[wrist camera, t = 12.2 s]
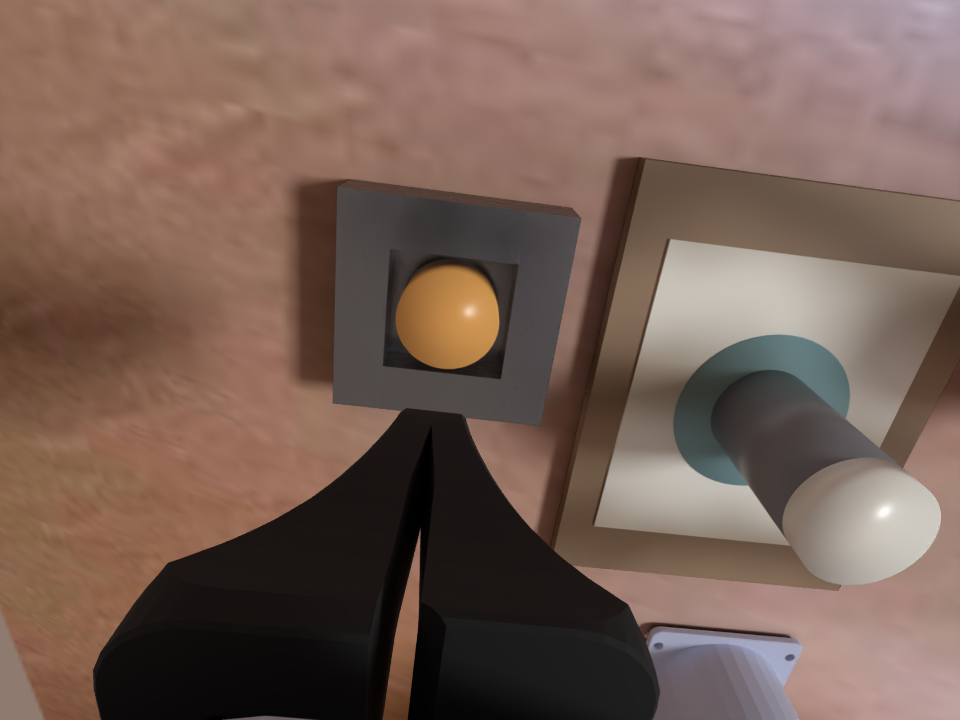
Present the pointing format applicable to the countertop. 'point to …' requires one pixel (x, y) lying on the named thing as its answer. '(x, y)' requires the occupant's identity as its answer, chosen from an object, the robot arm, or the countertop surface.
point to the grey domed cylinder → (823, 480)
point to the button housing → (434, 236)
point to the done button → (448, 314)
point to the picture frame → (749, 355)
